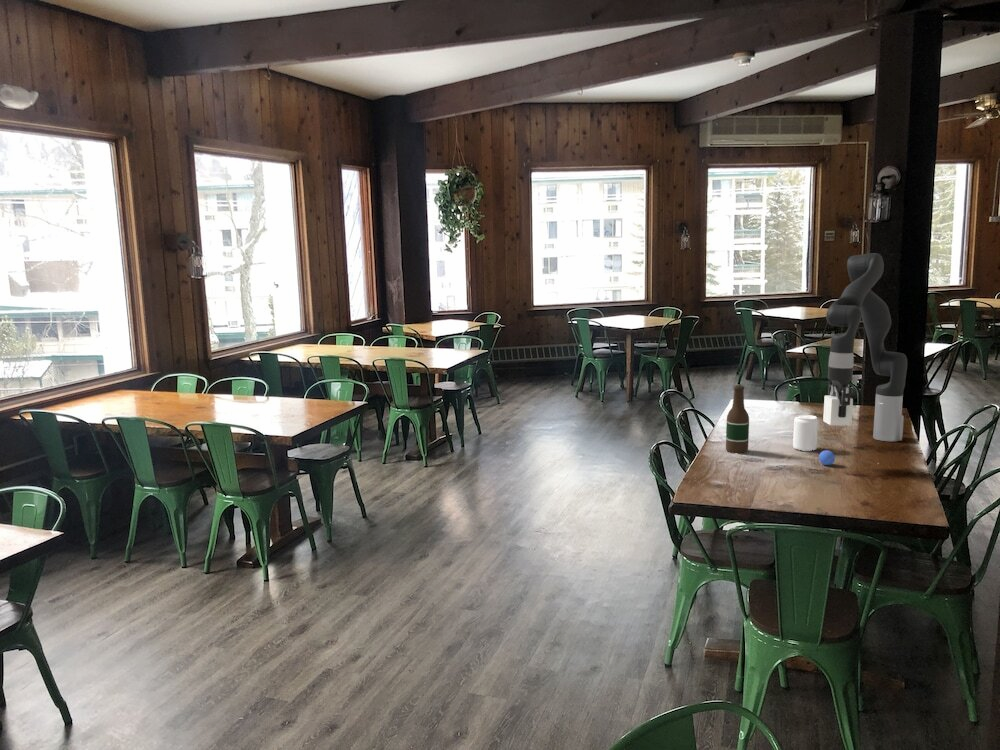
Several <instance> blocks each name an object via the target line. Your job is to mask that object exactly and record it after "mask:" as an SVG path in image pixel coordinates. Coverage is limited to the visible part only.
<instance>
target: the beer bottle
mask: <svg viewBox="0 0 1000 750" xmlns="http://www.w3.org/2000/svg"><path fill="white" fill-rule="evenodd" d="M732 389H733V390H734V391H733V399H732V400H733V401H732V405H731V408H730V410H729V412H728V413H727V416H726V424H725V425H726V427H725V428H726V432H725V450H727V451H726V452H728V453H729V452H730V453H729V454H735V453H744V454H746V453H748V451H749V441H750V440H749V439H750V438H749V434H750V432H749V431H750V416H749V414H748V411H747V410H746V407H745V398H744V397H745V394H744V393H745V391H744V390H745V386H743V385H734V386H733V388H732Z"/></svg>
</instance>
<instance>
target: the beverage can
mask: <svg viewBox="0 0 1000 750" xmlns="http://www.w3.org/2000/svg"><path fill="white" fill-rule="evenodd" d="M818 432H819V420H818V417H817V416H815V415H811V414H797V415H796V416H795V418H794V419H793V436H792V438H793V440H792V447H793V449H795V450H797V449H798V450H797V451H800V450H802V451H801V452H813V451H815V450H817V449H818ZM812 450H813V451H812Z"/></svg>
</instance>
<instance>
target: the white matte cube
mask: <svg viewBox="0 0 1000 750" xmlns="http://www.w3.org/2000/svg"><path fill="white" fill-rule="evenodd" d="M823 400H824V402H823V417H822V418H823V419H822V422H824V423H825V424H828V426H852V421H853V420H852V419H853V404H854V399H853V398H852V397H850V405H848V406H846V417H839V416H838V411H839V399H836V396H831V395H828V394H827V395H824V399H823ZM844 402H845V399H844Z"/></svg>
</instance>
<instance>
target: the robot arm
mask: <svg viewBox="0 0 1000 750" xmlns="http://www.w3.org/2000/svg"><path fill="white" fill-rule="evenodd" d="M884 267H885V263H884V259H883V257H882V255H881V254H880V253H875V252H873V253H863V254H856V255H851V256H849V257H848V259H847V262H846V268H847V273H848V277H849V281H850V283H849V284H848V285H847V286H845V288H844V290H843V291H842V293H841V296H840V297H839V298H837V300H835V301H834V302H833V303H832V304H831V305H830V306H829V307H828V309H827V311H826V315H825V319H826V322H827V324H829V325H830V326H831V327H842V328H844V327H845V328H847V330H846V331H845V332H841V333H835V334H833V335H831V337H830V352H829V356H828V369H827V379H828V380H829V381H828V384H827V385H828V386H827V395H831V396H836V399H839V411H838V416H839V417H846V406H848V405H850V398H852V397H851V395H852V387H850V386H849V387H848V382H851V381H852V380H853V373H854V362H855V361H854V359H855V358H854V350H855V349H854V348H855V346H854V345H855V338H856V334H857V331H858V329H859V326H860V323H861V321H862V323H863V326H864V329H865V333H866V337H867V341H868V345H869V351H870V353H869V354H870V359H871V364H872V365H871V366H872V368H873V371H874V373H875V374H876V375H879V376H884V377H890V379H889V382H887V383H882V384H879V385H877V386H876V388H875V399H874V400H875V401H874V404H875V405H874V417H873V432H872V434H873V435H872V438H873V439H874V440H876V441H877V440H878V441H882V442H899V441H903V434H904V432H903V431H904V421H905V419H904V417H905V416H904V415H903V401H904V400H903V397H904V390H905V387H906V378H907V373H908V372H907V370H908V358H907V356H906V353H905V354H904V353H902V352H897V351H888V350H886V348H885V343H884V341H885V338H886V336H887V335H888V333H889V331H890V330H891V327H892V318H891V317H892V316H891V313H890V310H889V306H888V305H887V303H886V302H885V301H884V300H883V299H882V298H881V297H880V296H878V295H877V294H876V293H875V292H874V291H873V290H872V289H873V287H874V286H875V285H876V283H877V282H878V281H879V280H880V279H881V278H882V276H883V274H884V270H885V268H884ZM844 399H845V402H844Z"/></svg>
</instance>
